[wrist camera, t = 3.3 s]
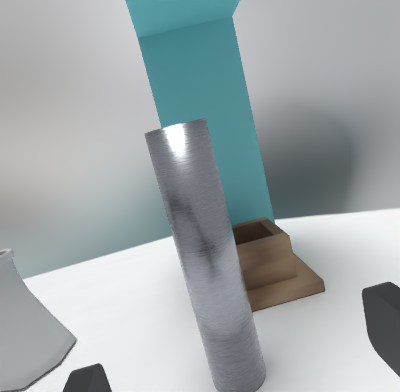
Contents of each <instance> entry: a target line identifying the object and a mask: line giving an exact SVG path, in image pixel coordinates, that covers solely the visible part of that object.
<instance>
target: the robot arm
mask: <svg viewBox="0 0 400 392" xmlns="http://www.w3.org/2000/svg"><path fill="white" fill-rule="evenodd" d="M362 299H363V305H364V312H365V319H366V325H367V332H368V336H369V339H370V342H371V344H372V346H373V347H374V349H375V351H376V352H377V353H378V355H379V356H380V357H381V358H382V359H383V360H384V361H385V362H386V363H387V364H388V365H389V366H390V367H391V368H392V369H393V370H394V372H395V373H396V374H397V375H398V376H399V377H400V288H399V287H398V286H396V285H395V284H393V283H391V282H386V283H382V284H379V285H375V286H372V287H368V288H365V289H363V291H362ZM63 392H112V390H111V388H110V385H109V382H108V379H107V377H106V374H105V371H104V369H103V367H102V365H101V364H99V363H98V364H95V365H91V366H88V367H84V368H81V369H77V370H74V371H72V372H71V373H70V375H69V378H68V380H67V382H66V385H65V387H64V389H63Z"/></svg>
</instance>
